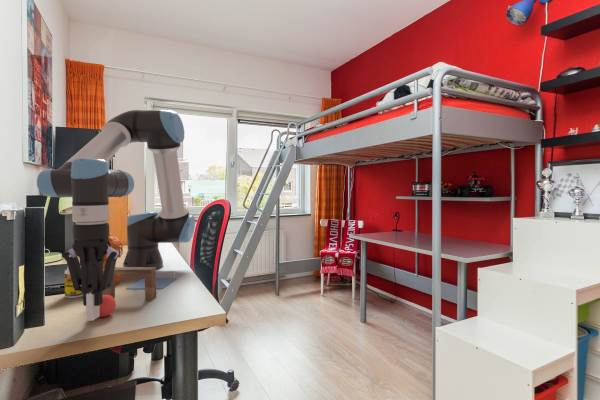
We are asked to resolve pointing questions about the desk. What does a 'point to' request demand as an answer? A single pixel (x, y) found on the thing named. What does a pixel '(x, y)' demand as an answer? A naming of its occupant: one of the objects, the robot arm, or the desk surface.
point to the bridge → (148, 271)
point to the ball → (107, 305)
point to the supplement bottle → (70, 286)
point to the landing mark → (159, 283)
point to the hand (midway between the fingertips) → (93, 318)
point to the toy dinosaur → (115, 246)
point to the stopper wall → (165, 274)
